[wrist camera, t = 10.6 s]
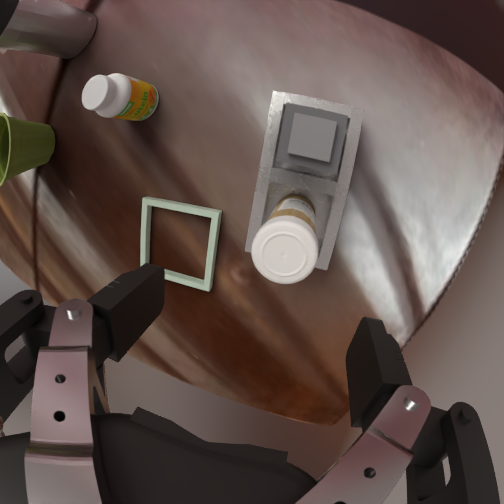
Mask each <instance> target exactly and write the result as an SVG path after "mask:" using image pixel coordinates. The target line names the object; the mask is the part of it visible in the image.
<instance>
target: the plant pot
mask: <svg viewBox="0 0 504 504" xmlns="http://www.w3.org/2000/svg"><path fill="white" fill-rule="evenodd" d="M54 148H55V134H54V131H53V130H52V128H51V126H50V125H47V124H42V123H36V122H30V121H25V120H19V119H16V118H14V117H8V116H7V115H6V114H5V113H0V186H1V185H2V184H3V183H4V182H5V181H7V180H9V179H11V178H12V177H13V176H15V175H18V174H20V173H22V172H25V171H27V170H30V169H32V168H35V167H38V166H40V165H43V164H45V163H47V162H48V161H49V160H50V157H51V155H52V154H53V152H54Z"/></svg>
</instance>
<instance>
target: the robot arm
mask: <svg viewBox="0 0 504 504" xmlns="http://www.w3.org/2000/svg"><path fill="white" fill-rule="evenodd" d="M96 25H97V19H96V17H95V15H93V14H91V13H89V12H87V11H84V10H82V9H79V8H77V7H75V6H72V5H69V4H67V3H64V2H61V1H58V0H0V49H11V50H19V51H27V52H33V53H39V54H45V55H50V56H55V57H60V58H65V59H70V58H73V57H75V56H77V55H78V54H79V53H80V52H81V51H82V50H83V49H84V48H85V47H86V46H87V44H88V43H89V41H90V40H91V38H92V36H93V34H94V32H95V29H96ZM164 289H165V270H164V268H163V267H160V266H157V265H153V264H150V263H145V264H143V265H142V266H141V267H139V268H138V269H136V270H135V271H130V272H127V273H124V274H122V275H120V276H119V277H118V278H116V279H115V280H114V282H113V281H112V282H111V283H109V284H108V286H105V287H104V288H103V289H101V290H100V291H99V292H97V293H96V294H95V295H93V296H92V297H91V298H89V299H88V300H87V301H85V300H82V299H71V300H67V301H65V302H63V303H61V304H60V305H59V306H58V307H52V306H48V305H44V304H43V299H42V295H41V293H40V292H38V291H36V290H24V291H21V292H19V293H17V294H15V295H14V296H13V297H12V298H10V299H8V300H7V301H6V302H4V303H3V304H2V305H0V504H383V503H384V501H385V500H386V499H387V497H388V496H389V494H390V493H391V491H392V490H393V488H394V487H395V485H396V484H397V482H398V481H399V479H400V478H401V476H402V474H403V473H404V471H405V470H406V478H407V504H500V500H499V493H498V487H497V482H496V477H495V472H494V467H493V463H492V459H491V456H490V452H489V448H488V444H487V441H486V438H485V434H484V431H483V428H482V425H481V422H480V419H479V416H478V414H477V412H476V411H475V409H474V408H473V407H472V406H470V405H469V404H467V403H464V402H457V403H455V404H453V405H452V407H451V408H450V409H449V410H448V411H444V410H442V409H438V408H435V407H432V406H431V402H430V399H429V397H428V396H427V395H426V393H425V392H424V391H423V390H421V389H419V388H418V387H415V386H413V385H412V382H411V379H410V376H409V373H408V370H407V367H406V364H405V362H404V359H403V355H402V354H401V350H400V347H399V344H398V342H397V341H396V340H395V339H394V338H393V337H392V335H391V334H387V332H386V329H385V326H384V324H383V321H382V320H379V319H373V318H368V317H363V318H362V320H361V321H360V324H359V326H358V328H357V330H356V332H355V335H354V337H353V339H352V341H351V343H350V345H349V348H348V350H347V354H346V370H347V379H348V390H349V402H350V414H351V415H350V416H351V427H362V430H363V431H362V432H363V433H362V434H361V435H360V436H359V437H358V439H357V440H356V441H355V442H354V443H353V444H352V445H351V446H350V448H349V449H348V450H347V451H346V452H345V453H344V454H343V455H342V456H341V457H340V459H338V460H337V462H336V463H335V464H334V465H333V466H332V467H331V468H330V469H329V470H328V471H326V473H325V474H324V475H322V476H321V477H320V478H319V479H318V480H317V481H316V480H315V479H314V478H313V477H312V476H310V475H309V474H308V473H307V472H305V471H304V470H302V469H300V468H299V467H297V466H295V465H293V464H291V463H288V462H286V461H287V455H288V452H285V451H279V450H274V449H268V448H263V447H259V446H254V445H250V444H225V443H212V442H207V441H204V440H202V439H200V438H199V437H197V436H195V435H194V434H192V433H190V432H188V431H187V430H185V429H183V428H182V427H180V426H179V425H177V424H176V423H174V422H173V421H171V420H168V419H166V418H163V417H161V416H158V415H156V414H154V413H151V412H149V411H146V410H144V409H142V408H140V407H137V408H136V410H135V411H134V413H133V414H132V415H130V414H122V413H111V412H110V408H109V403H108V396H107V387H106V377H105V366H104V361H105V359H107V358H110V359H112V360H114V361H116V362H119V361H120V360H121V358H122V357H123V356H124V355H125V354H126V353H127V351H128V350H129V349H130V348H131V347H132V346H133V344H134V343H135V342H136V341H137V340H138V339H139V337H140V336H141V335H142V334H143V333H144V332H145V330H146V329H147V328H148V327H149V326H150V325H151V324H152V322H153V321H154V320H155V319H156V318H157V317H158V316H159V314H160V313H161V311H162V309H163V305H164ZM20 335H21V336H22V338H23V341H24V344H25V346H24V347H23V348H22V349H21V350H20V351H19V352H18V353H17V354H16V355H15V356H14V357H13V358H12V359H11V360H10V361H9V362H8V363H6V360H5V355H4V354H5V350H6V348H7V347H8V346H9V345H10V344H11V343H12V342H13V341H14V340H16V339H17V338H18V337H19V336H20ZM33 387H34V388H33ZM32 388H33V398H32V411H31V432H26V433H21V434H15V435H10V436H5V434H4V432H3V431H2V429H3V423H4V422H5V421H6V420H7V418H8V417H9V416H10V414H11V413H12V412H13V411H14V410H15V408H16V407H17V406H18V405H19V403H20V402H21V401H22V400H23V399H24V398H25V396H26V395H27V394H28V393H29V392H30V391H31V389H32ZM447 456H448V459H449V465H450V471H451V477H450V480H449V482H448V484H447V486H446V484H445V477H444V469H443V463H442V461H443V460H444V459H445V458H446V457H447Z"/></svg>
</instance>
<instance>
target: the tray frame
mask: <svg viewBox="0 0 504 504" xmlns="http://www.w3.org/2000/svg"><path fill="white" fill-rule="evenodd" d="M152 206H156V207H161V208H166V209H171V210H176V211H181V212H186V213H190V214H195V215H200V216H205V217H210V218H212V220H211V227H210V235H209V244H208V252H207V261H206V270H205V279H204V280H202V279H198V278H195V277H191V276H187V275H184V274H180V273H177V272H173V271H170V270H166V269H164V270H165V279H167V280H170V281H174V282H177V283H180V284H184V285H187V286H191V287H194V288H198V289H201V290H205V291H210V290H211V288H212V284H213V276H214V267H215V259H216V252H217V244H218V237H219V229H220V222H221V215H222V211H221V210H216V209H211V208H206V207H201V206H196V205H191V204H186V203H181V202H175V201H170V200H165V199H159V198H154V197H148V196H147V197H144V198H143V200H142V218H141V266H142V265H143V264H145V263H149V259H150V229H151V211H152Z"/></svg>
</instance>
